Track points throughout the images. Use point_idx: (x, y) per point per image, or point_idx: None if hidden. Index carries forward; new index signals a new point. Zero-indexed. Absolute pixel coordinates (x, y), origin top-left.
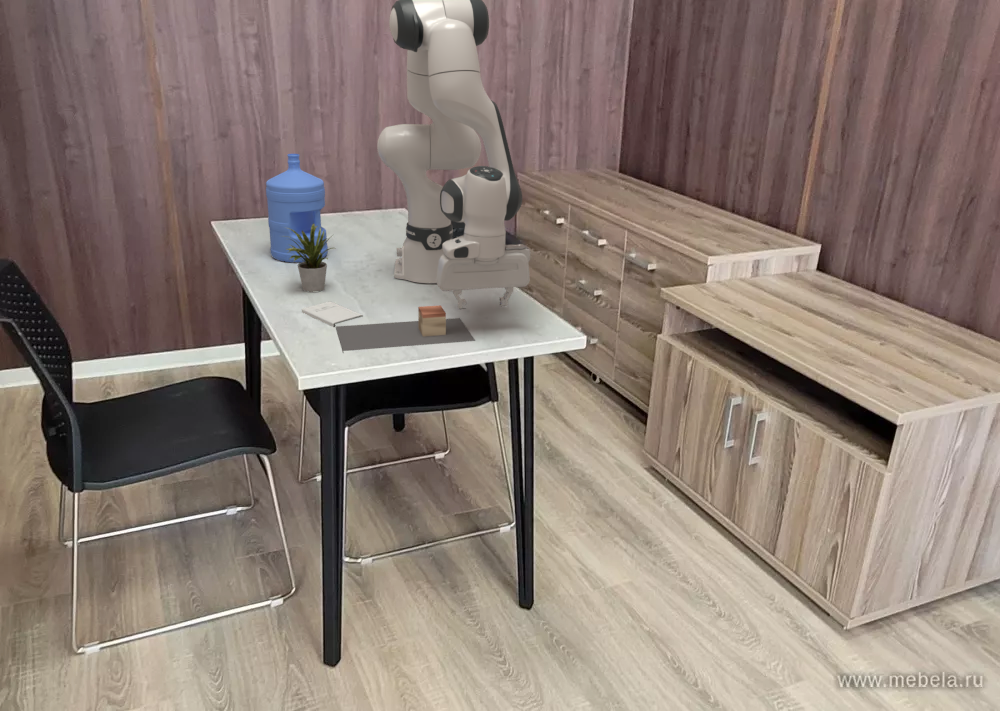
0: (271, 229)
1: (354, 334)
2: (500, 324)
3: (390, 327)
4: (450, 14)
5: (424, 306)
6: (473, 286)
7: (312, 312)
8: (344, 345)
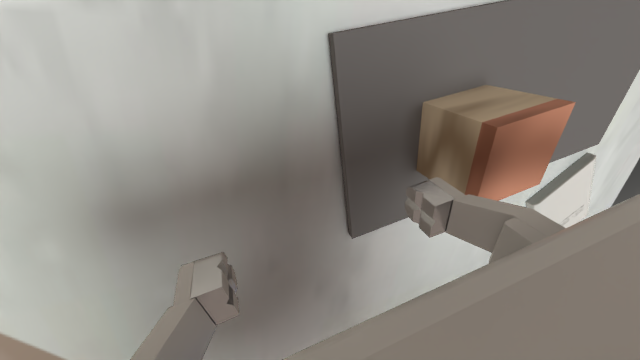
0: None
1: (603, 96)
2: (224, 233)
3: None
4: None
5: (523, 189)
6: (507, 286)
7: (589, 200)
8: None
